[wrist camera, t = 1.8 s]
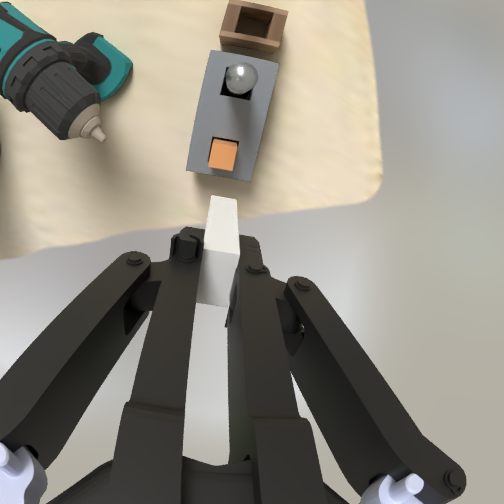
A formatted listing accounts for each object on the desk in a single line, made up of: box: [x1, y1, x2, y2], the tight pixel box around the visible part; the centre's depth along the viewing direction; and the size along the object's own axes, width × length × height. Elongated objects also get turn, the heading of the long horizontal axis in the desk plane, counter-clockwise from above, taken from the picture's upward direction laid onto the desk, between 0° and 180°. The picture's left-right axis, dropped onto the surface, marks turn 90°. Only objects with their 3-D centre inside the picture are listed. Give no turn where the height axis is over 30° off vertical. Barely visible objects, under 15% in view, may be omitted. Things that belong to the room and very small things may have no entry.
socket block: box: [186, 50, 279, 182], centre depth 38 cm, size 9×17×7 cm, turn 167°
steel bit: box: [226, 62, 258, 95], centre depth 31 cm, size 3×3×18 cm
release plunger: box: [208, 139, 237, 171], centre depth 37 cm, size 3×3×8 cm
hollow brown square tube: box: [219, 0, 288, 54], centre depth 32 cm, size 8×6×6 cm
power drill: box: [0, 2, 133, 143], centre depth 25 cm, size 26×9×25 cm, turn 44°
